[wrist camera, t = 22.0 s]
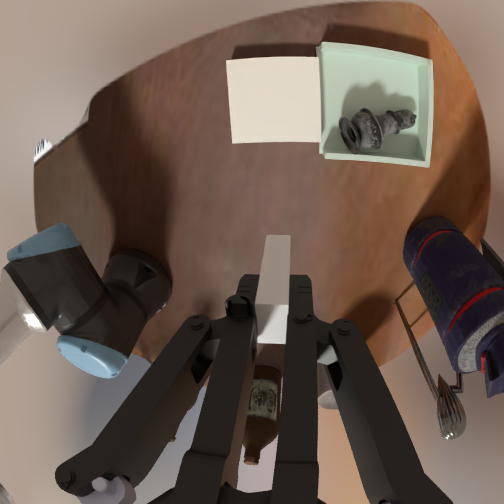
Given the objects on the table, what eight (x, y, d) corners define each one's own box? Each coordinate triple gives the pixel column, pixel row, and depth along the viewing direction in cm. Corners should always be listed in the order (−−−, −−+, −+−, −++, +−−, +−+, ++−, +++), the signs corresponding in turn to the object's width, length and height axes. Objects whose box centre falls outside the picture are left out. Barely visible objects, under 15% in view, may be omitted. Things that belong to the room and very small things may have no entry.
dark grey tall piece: (345, 152, 35) (409, 131, 34) (364, 161, 30) (433, 138, 29) (333, 113, 32) (400, 95, 31) (351, 116, 27) (424, 97, 26)
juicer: (395, 299, 49) (435, 438, 23) (440, 295, 47) (492, 418, 22) (385, 332, 54) (410, 458, 28) (427, 328, 52) (463, 443, 27)
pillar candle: (335, 365, 61) (340, 418, 48) (306, 351, 59) (306, 408, 46) (365, 344, 56) (375, 399, 44) (336, 328, 55) (343, 388, 42)
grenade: (411, 281, 46) (466, 420, 21) (390, 235, 42) (464, 391, 17) (467, 246, 40) (547, 366, 15) (453, 195, 36) (565, 315, 11)
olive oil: (277, 388, 69) (268, 470, 48) (239, 380, 69) (223, 463, 48) (288, 368, 64) (282, 461, 42) (247, 360, 64) (229, 454, 42)
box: (319, 153, 37) (322, 158, 34) (315, 47, 29) (318, 41, 25) (418, 160, 35) (429, 167, 31) (420, 62, 27) (432, 60, 23)
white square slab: (235, 140, 38) (232, 143, 36) (230, 62, 32) (226, 60, 29) (319, 139, 36) (321, 142, 34) (316, 59, 30) (318, 57, 28)
